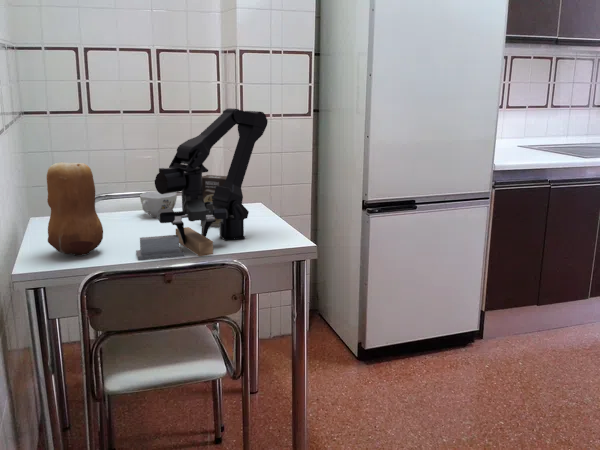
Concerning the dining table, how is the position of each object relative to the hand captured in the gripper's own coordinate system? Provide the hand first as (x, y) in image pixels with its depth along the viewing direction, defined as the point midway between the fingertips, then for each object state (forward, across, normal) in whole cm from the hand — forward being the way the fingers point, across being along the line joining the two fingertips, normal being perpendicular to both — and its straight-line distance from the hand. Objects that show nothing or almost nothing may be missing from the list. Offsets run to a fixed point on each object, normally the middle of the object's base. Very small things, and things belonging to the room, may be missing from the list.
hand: (193, 243), depth 163 cm
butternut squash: (+1, -31, +3) cm, 31 cm away
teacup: (+1, -5, +42) cm, 42 cm away
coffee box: (+1, +12, +24) cm, 27 cm away
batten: (+1, 0, 0) cm, 1 cm away
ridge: (+1, -10, -5) cm, 11 cm away
